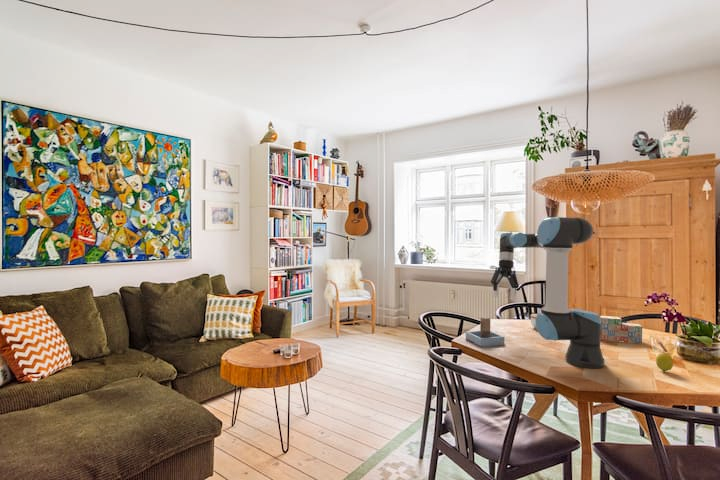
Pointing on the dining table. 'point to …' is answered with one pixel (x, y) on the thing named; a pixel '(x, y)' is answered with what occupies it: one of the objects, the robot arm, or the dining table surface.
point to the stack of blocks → (619, 330)
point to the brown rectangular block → (484, 327)
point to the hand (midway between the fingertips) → (504, 298)
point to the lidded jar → (534, 320)
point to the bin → (491, 341)
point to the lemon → (664, 362)
